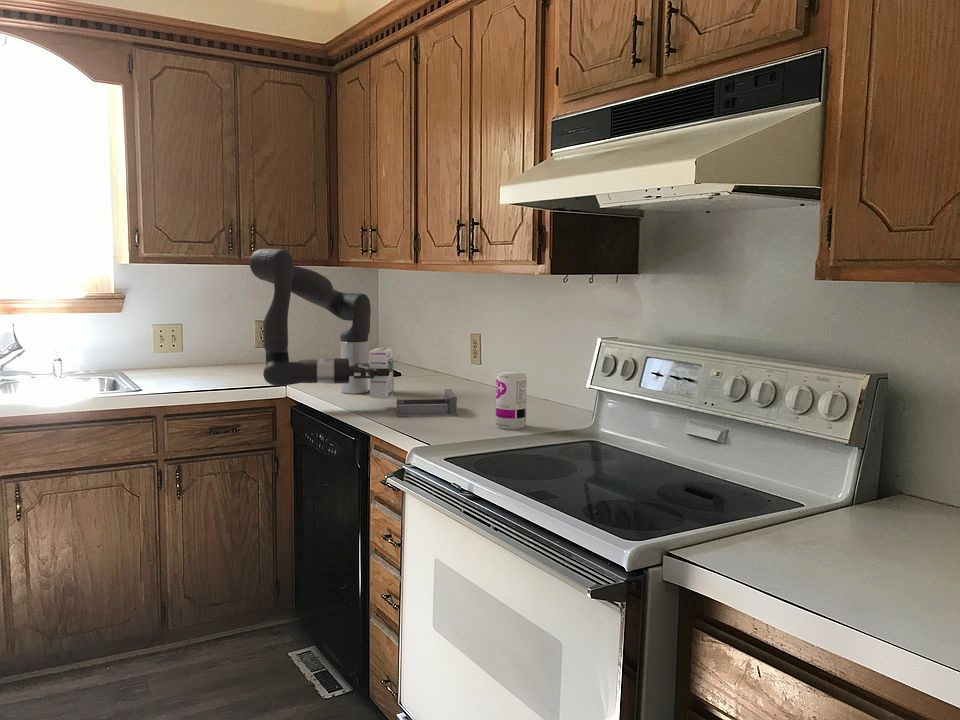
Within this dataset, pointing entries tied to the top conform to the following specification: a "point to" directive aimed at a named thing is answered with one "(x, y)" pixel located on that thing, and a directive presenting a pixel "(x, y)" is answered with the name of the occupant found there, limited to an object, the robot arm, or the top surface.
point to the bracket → (429, 406)
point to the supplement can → (511, 399)
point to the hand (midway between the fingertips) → (388, 370)
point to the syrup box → (381, 384)
